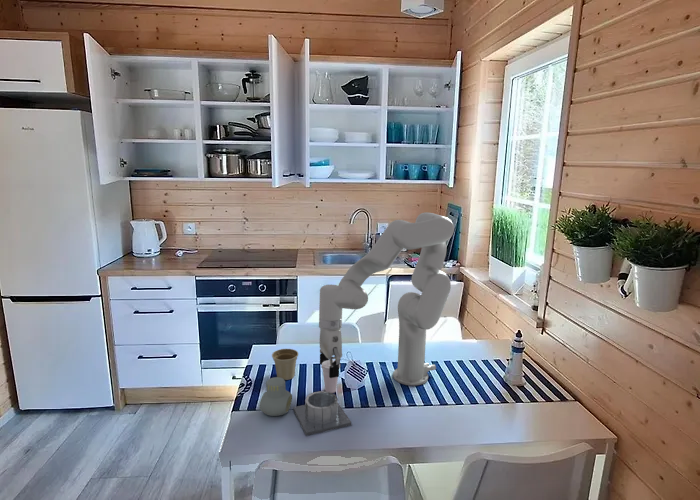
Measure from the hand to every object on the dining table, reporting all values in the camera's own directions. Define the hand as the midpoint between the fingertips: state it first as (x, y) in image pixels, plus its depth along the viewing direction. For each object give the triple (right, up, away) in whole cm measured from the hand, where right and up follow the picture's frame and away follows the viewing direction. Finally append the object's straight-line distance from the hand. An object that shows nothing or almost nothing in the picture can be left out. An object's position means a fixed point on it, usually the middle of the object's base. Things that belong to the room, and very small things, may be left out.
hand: (329, 370), depth 147 cm
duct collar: (-2, -11, -14) cm, 18 cm away
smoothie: (0, -7, +2) cm, 8 cm away
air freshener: (-16, -10, -10) cm, 21 cm away
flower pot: (-16, -5, +11) cm, 20 cm away
